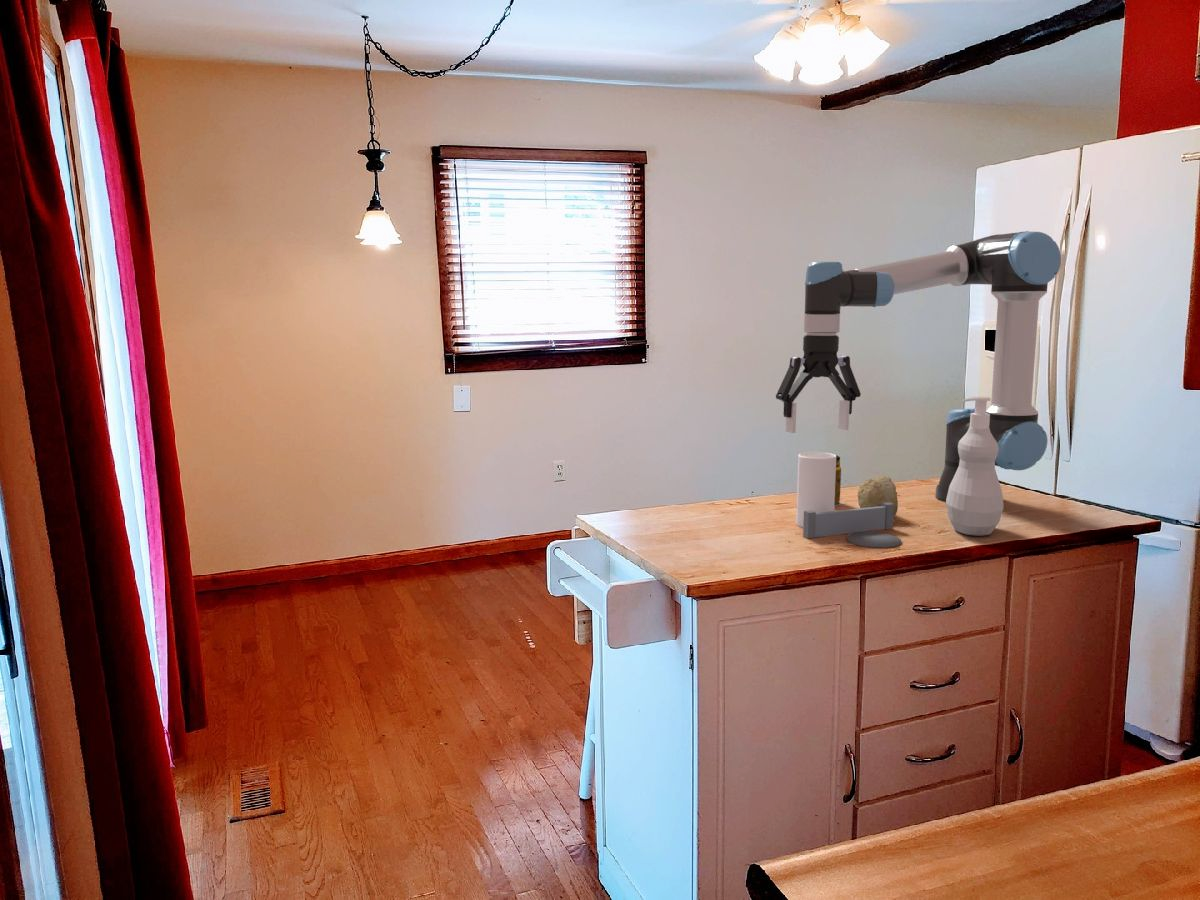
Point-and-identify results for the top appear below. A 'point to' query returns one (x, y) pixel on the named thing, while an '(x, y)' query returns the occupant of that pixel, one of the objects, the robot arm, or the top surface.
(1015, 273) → the robot arm
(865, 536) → the slate coaster
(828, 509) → the cup
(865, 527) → the grey barrier wall
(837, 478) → the condiment
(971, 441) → the soap bottle
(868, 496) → the beige rough lump
